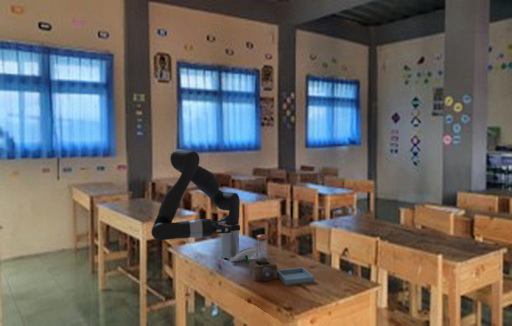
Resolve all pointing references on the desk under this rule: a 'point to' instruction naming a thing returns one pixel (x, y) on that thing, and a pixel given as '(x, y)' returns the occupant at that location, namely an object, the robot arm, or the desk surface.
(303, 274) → the tray
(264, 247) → the pin
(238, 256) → the tabbed white plastic disc
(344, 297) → the desk surface
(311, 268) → the desk surface
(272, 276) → the block
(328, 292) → the desk surface
